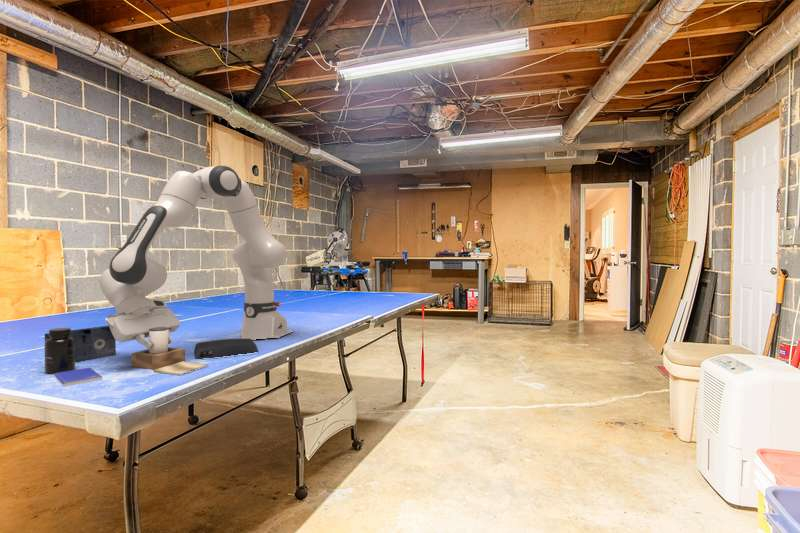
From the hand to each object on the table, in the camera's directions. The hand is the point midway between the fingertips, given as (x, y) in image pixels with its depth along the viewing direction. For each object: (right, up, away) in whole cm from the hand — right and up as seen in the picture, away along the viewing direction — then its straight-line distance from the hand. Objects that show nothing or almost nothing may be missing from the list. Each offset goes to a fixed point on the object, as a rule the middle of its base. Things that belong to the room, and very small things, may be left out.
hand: (160, 345), depth 127 cm
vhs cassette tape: (-27, -6, +4) cm, 28 cm away
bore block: (-1, -6, 0) cm, 6 cm away
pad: (+9, -6, -5) cm, 12 cm away
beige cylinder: (-1, -6, 0) cm, 6 cm away
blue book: (-14, -7, -14) cm, 21 cm away
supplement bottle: (-24, -6, -7) cm, 26 cm away
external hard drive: (+14, -6, +15) cm, 21 cm away
